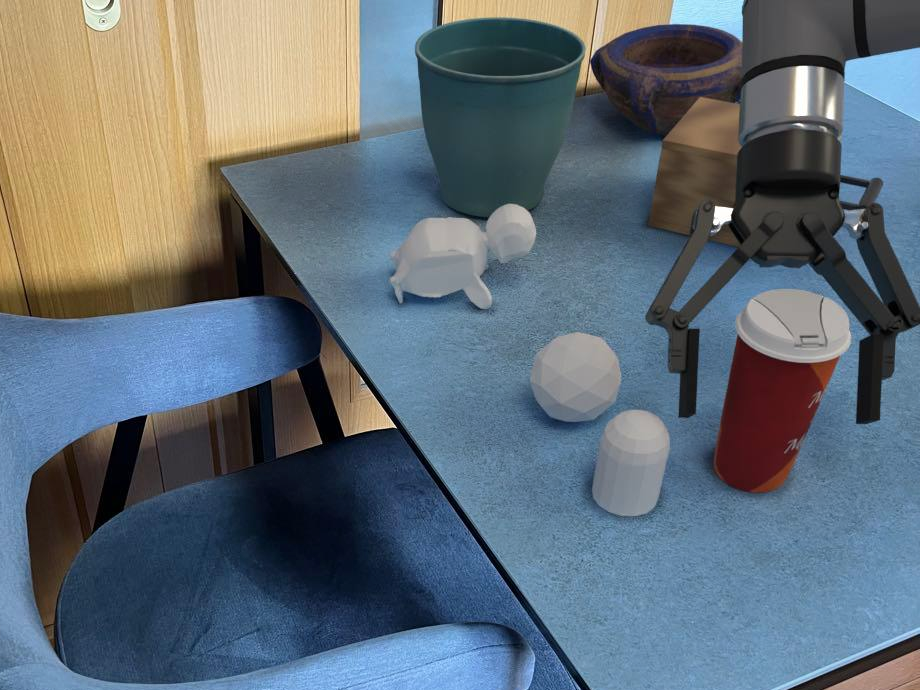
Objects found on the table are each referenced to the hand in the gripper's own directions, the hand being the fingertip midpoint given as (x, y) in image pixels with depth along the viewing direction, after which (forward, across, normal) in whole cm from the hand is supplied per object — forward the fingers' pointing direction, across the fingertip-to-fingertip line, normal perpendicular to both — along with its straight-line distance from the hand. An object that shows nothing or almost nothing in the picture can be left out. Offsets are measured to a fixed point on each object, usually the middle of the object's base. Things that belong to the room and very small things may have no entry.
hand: (776, 419), depth 79 cm
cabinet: (-28, -5, -38) cm, 47 cm away
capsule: (+6, +11, -4) cm, 13 cm away
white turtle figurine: (-16, +25, -26) cm, 39 cm away
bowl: (-46, 0, -56) cm, 72 cm away
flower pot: (-30, +22, -40) cm, 55 cm away
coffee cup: (+3, 0, -7) cm, 8 cm away
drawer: (-27, -9, -36) cm, 46 cm away
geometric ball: (-1, +14, -12) cm, 19 cm away
